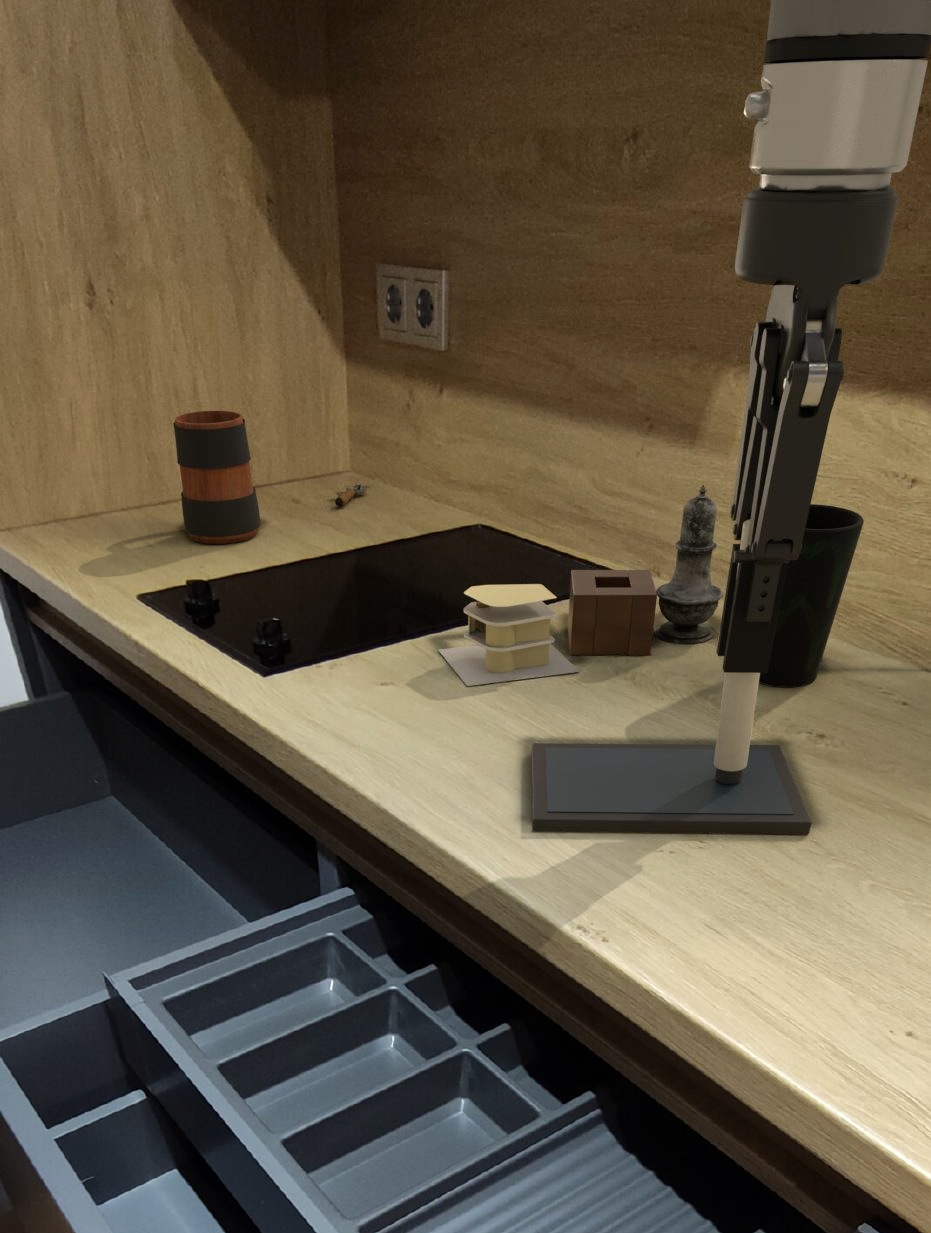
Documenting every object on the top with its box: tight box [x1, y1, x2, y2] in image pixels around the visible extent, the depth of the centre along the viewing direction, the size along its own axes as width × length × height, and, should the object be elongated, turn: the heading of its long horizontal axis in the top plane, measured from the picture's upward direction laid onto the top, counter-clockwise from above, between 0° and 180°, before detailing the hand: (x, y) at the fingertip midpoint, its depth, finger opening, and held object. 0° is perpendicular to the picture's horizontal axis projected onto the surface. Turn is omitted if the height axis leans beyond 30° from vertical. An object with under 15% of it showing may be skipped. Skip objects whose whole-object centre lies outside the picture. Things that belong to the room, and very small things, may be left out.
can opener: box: [334, 482, 368, 508], centre depth 138 cm, size 9×2×1 cm, turn 160°
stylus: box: [714, 520, 760, 784], centre depth 71 cm, size 2×2×16 cm
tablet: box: [530, 742, 812, 835], centre depth 77 cm, size 18×12×1 cm, turn 86°
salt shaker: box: [654, 484, 724, 645], centre depth 96 cm, size 6×6×12 cm
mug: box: [172, 410, 261, 545], centre depth 125 cm, size 9×12×12 cm
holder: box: [567, 569, 658, 656], centre depth 98 cm, size 7×7×5 cm
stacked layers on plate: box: [437, 583, 581, 687], centre depth 94 cm, size 10×9×6 cm
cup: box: [759, 503, 865, 688], centre depth 89 cm, size 8×8×12 cm
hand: (741, 661), depth 71 cm, fingers closed on stylus, 2 cm apart
